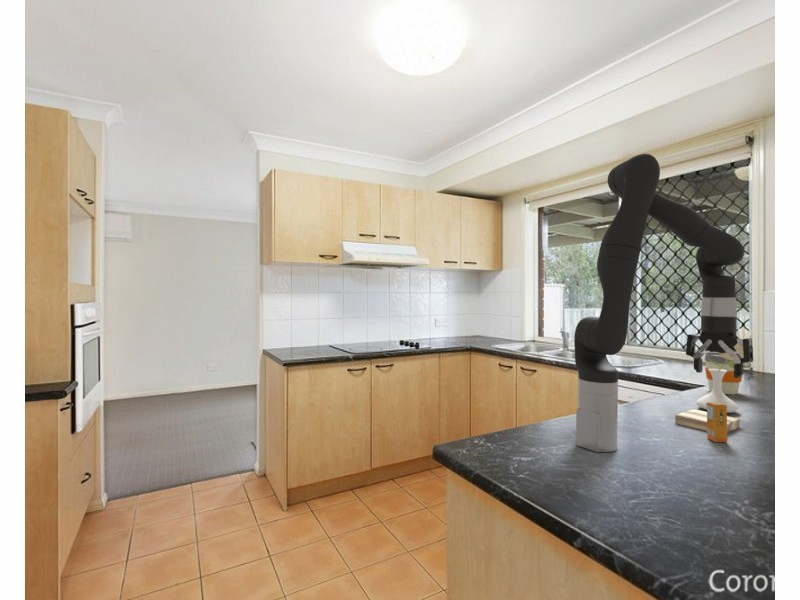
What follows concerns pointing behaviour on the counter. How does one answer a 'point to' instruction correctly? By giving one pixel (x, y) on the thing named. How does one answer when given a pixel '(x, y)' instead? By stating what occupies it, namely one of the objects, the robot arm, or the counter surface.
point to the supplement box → (717, 422)
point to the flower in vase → (717, 376)
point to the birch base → (702, 420)
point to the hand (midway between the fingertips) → (717, 374)
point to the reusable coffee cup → (728, 380)
